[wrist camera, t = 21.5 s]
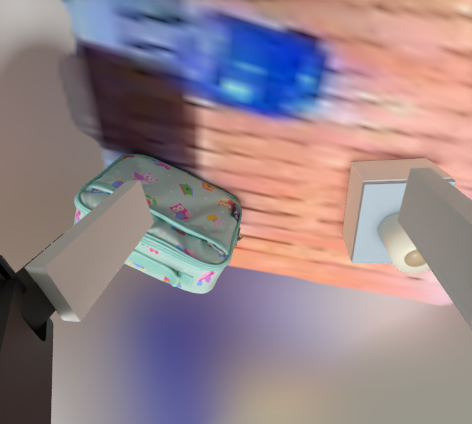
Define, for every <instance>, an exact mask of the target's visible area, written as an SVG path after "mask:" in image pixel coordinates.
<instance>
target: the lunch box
mask: <svg viewBox="0 0 472 424" xmlns="http://www.w3.org/2000/svg"><path fill="white" fill-rule="evenodd" d="M129 180H140V182H141V185H142V188H143V191H144V194H145V197H146V200H147V203H148V206H149V209H150V212H151V215H152V218H153V221H154V223H153V225H152V226H151V227H150V229H149V230H148V231H147V233H146V234H145V235H144V237H143V238H142V239H141V241H140V242H139V243H138V245H137V246H136V248H135V249H134V250H133V252H132V253H131V254H130V256H129V257H128V258H127V260H126V261H125V262H124V263H125V264H127V265H129V266H131V267H133V268H136V269H138V270H140V271H142V272H144V273H146V274H149V275H151V276H153V277H155V278H157V279H159V280H162V281H164V282H167V283H169V284H171V285H172V286H174V287H178V288H181V289H183V290H186V291H189V292H193V293H206V292H208V291H210V290H211V289H212V288H213V287H214V285H215V283H216V281H217V278H218V277H219V276H220V274H221V272H222V270H223V269H224V268H225V267H226V266H227V265H228V264H229V262H230V260H231V257H232V253H233V249H234V245H235V246H237V244H236V243H237V242H239V241H240V240H241V239H242V238H243V237H244V236H242V237H241V238H240V237H239V236H238V235H239V233H240V228H239V226H240V222H241V214H242V213H241V207H240V204H239V202H238V201H237V200H236V199H235V198H234V197H233V196H232V195H230V194H229V193H227V192H225V191H223V190H221V189H219V188H217V187H214V186H212V185H210V184H208V183H206V182H204V181H202V180H200V179H198V178H196V177H194V176H192V175H190V174H189V173H187V172H185V171H182V170H179V169H177V168H175V167H172V166H170V165H168V164H166V163H164V162H161V161H159V160H157V159H155V158H152V157H149V156H146V155H140V154H126V155H123V156H121V157H120V158H118V159H117V160H115V161H114V162H113V163H112V164H111V165H110V166H108V167H107V168H106V169H105V170H104V171H102V172H101V173H100V174H98V175H97V176H96V177H95V178H93V179H92V180H91V181H89V182H88V183H87V184H85V185H84V186H83V187H82V188H81V189H80V190H79V192H78V193H77V195H76V196H75V199H74V203H75V206H76V207H77V208H76V215H75V222H74V225H75V224H76V223H77V222H78V221H80V220H81V219H82V218H83V217H84V216H86V215H87V214H88V213H89V212H90V211H91V210H93V209H94V208H95V207H96V206H97V205H99V204H100V203H101V202H102V201H103V200H105V199H106V198H107V197H108V196H109V195H110V194H112V193H113V192H114V191H115V190H116V189H118V188H119V187H120V186H121V185H122V184H123V183H125V182H126V181H129ZM74 225H73V226H74Z"/></svg>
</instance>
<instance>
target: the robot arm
mask: <svg viewBox="0 0 472 424" xmlns="http://www.w3.org/2000/svg"><path fill="white" fill-rule="evenodd" d="M397 221H398V222H399V224H400V225H401V226H402V228H403V229H404V231H405V232H406V234H407V235H408V237H409V238H410V240H411V241H412V243H413V244H414V246H415V247H416V249H417V250H418V251H419V253H420V254H421V256H422V257H423V259H424V260H425V262H426V263H427V265H428V266H429V268H430V269H431V271H432V272H433V273H434V275H435V276H436V278H437V279H438V281H439V282H440V284H441V285H442V287H443V288H444V290H445V291H446V293H447V294H448V295H449V297H450V298H451V300H452V301H453V303H454V304H455V306H456V307H457V309H458V310H459V311H460V313H461V315H462V316H463V317H464V319H465V320H466V322H467V323H468V325H469V326H470V328H471V329H472V200H470V199H469V198H468V197H467V196H465V195H464V194H463V193H462V192H460V191H459V190H458V189H457V188H455V187H454V186H453V185H452V184H450V183H449V182H448V181H446V180H445V179H444V178H443V177H441V176H440V175H439V174H438V173H436V172H435V171H434V170H433V169H431V168H411V169H410V172H409V176H408V180H407V184H406V188H405V192H404V196H403V200H402V204H401V207H400V211H399V215H398V219H397ZM153 223H154V221H153V218H152V215H151V212H150V209H149V206H148V203H147V200H146V197H145V194H144V191H143V188H142V185H141V182H140V180H129V181H126V182H125V183H123V184H122V185H121V186H120V187H119V188H118V189H116V190H115V191H114V192H113V193H112V194H110V195H109V196H108V197H107V198H106V199H105V200H103V201H102V202H101V203H100V204H99V205H97V206H96V207H95V208H94V209H93V210H91V211H90V212H89V213H88V214H87V215H86V216H84V217H83V218H82V219H81V220H80V221H78V222H77V223H76V224H75V225H74V226H73V227H71V228H70V229H69V230H68V231H67V232H65V233H64V234H62V235H61V236H60V237H58V238H57V239H56V240H55V241H54V242H53V243H52V244H50V245H49V246H48V247H47V248H45V250H43V251H42V252H41V253H39V254H38V255H37V256H36V257H35V258H33V259H32V260H31V261H30V262H29V263H27V264H26V265H25V266H24V267H23V268H21V269H20V270H19V271H18V272H17V273H15V272H14V271H13V269H12V268H11V267H10V266H9V264H8V263H7V262H6V260H5V259H4V258H3V257H2V256H1V255H0V424H51V396H52V357H53V355H52V354H53V322H52V320H51V319H50V318H49V317H50V316H51V315H52V314H53V313H54V311H55V310H56V311H57V313H58V314H59V315H60V317H61V318H62V320H65V321H78V322H80V321H82V319H83V318H84V316H85V315H86V314H87V312H88V311H89V310H90V308H91V307H92V305H93V304H94V303H95V302H96V300H97V299H98V297H99V296H100V295H101V293H102V292H103V291H104V289H105V288H106V287H107V285H108V284H109V283H110V281H111V280H112V279H113V277H114V276H115V275H116V273H117V272H118V270H119V269H120V267H121V266H122V265H123V264H124V262H125V261H126V260H127V258H128V257H129V256H130V254H131V253H132V252H133V250H134V249H135V248H136V246H137V245H138V243H139V242H140V241H141V239H142V238H143V237H144V235H145V234H146V233H147V231H148V230H149V229H150V227H151V226H152V225H153Z"/></svg>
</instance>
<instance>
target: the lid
mask: <svg viewBox="0 0 472 424" xmlns="http://www.w3.org/2000/svg"><path fill="white" fill-rule="evenodd" d="M445 180H446V181H448V182H449V183H450V184H452V185H453V186H455V183H456V181H455V180H453V179H445ZM406 184H407V180H402V181H373V182H363V186H362V192H361V198H360V204H359V211H358V217H357V223H356V230H355V236H354V242H353V249H352V255H351V261H352V263H393V262H392V260H391V258H390V256H389V254H388V253H387V251H386V249H385V247H384V245H383V243H382V241H381V239H380V237H379V235H378V232H377V229H378V226H379V224H380V222H381V221H382V220H383V219H385V218H386V217H388V216H390V215H392V214H395V213H399V211H400V207H401V204H402V200H403V196H404V192H405V188H406Z"/></svg>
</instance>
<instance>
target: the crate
mask: <svg viewBox="0 0 472 424" xmlns="http://www.w3.org/2000/svg"><path fill="white" fill-rule="evenodd" d="M411 168H431V169H433V170H434V171H435V172H436V173H438V174H439V175H440V176H441V177H443V178H444V179H452V178H453V177H451V176H450V175H449V174H447V173H446V172H445V171H443V170H442V169H441V168H439V167H438V166H437V165H435V164H434V163H432V162H431V161H430V160H428V159H427V158H415V159H395V160H374V161H354V162H351V168H350V176H349V184H348V191H347V199H346V207H345V215H344V222H343V230H342V235H343V238H344V241H345V244H346V247H347V250H348V253H349V256H350V259H351V255H352V249H353V242H354V236H355V230H356V223H357V217H358V211H359V204H360V198H361V192H362V186H363V182H373V181H402V180H408V176H409V172H410V169H411Z"/></svg>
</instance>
